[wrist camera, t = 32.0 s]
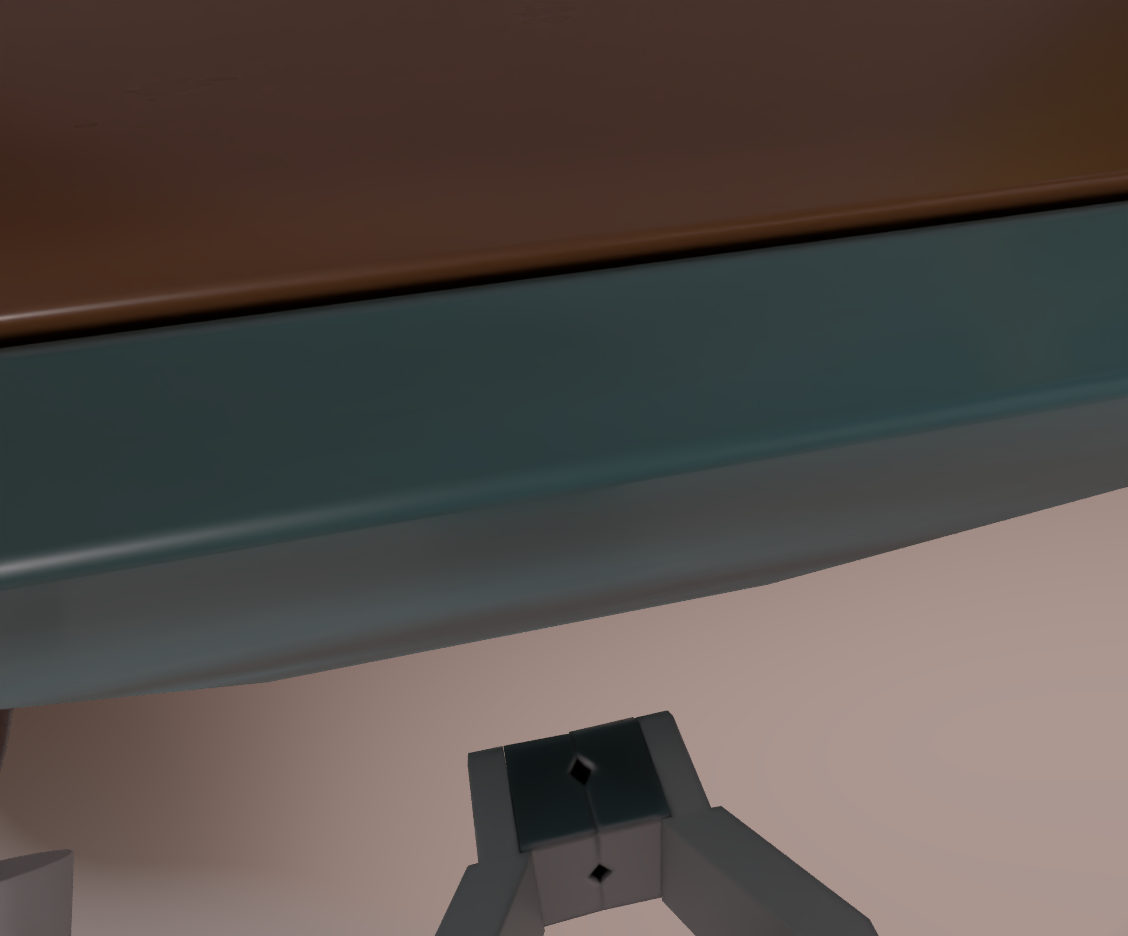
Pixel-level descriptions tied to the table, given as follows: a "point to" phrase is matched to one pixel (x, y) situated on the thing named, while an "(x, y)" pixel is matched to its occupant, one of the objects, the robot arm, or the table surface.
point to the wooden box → (513, 140)
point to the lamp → (34, 882)
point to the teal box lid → (542, 449)
